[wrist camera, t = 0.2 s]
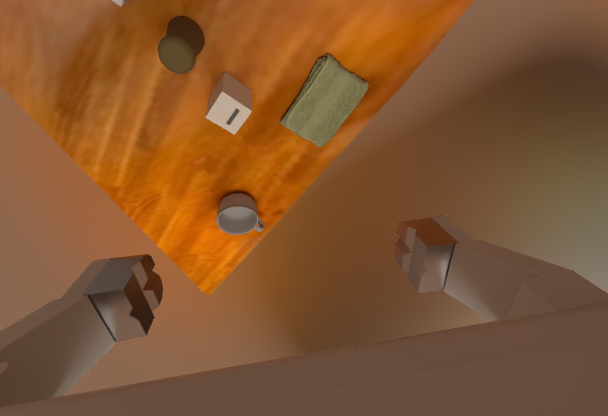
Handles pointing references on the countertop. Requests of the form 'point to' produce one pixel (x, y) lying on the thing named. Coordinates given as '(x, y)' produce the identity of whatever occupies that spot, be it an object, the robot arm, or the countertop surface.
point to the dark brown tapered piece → (181, 45)
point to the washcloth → (324, 101)
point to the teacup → (238, 215)
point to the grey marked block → (121, 2)
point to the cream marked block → (229, 103)
